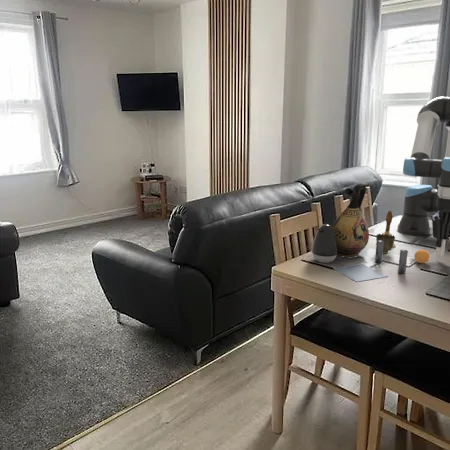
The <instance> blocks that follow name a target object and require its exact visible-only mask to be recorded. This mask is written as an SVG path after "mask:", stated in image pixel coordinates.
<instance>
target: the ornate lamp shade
mask: <svg viewBox="0 0 450 450" xmlns="http://www.w3.org/2000/svg"><path fill="white" fill-rule="evenodd" d="M383 233H384V232H382V233H381V234H380V233H378V234H376V243H377V240H382V241H384V246H383V255H385V256H386V255H388V254H389V252H390V251H391V250H392V249H393V248H392V247H393V244H395V238H396V236H395V235H394V234H392V235H390V236H389V234H385V235H383ZM383 255H382V256H383Z"/></svg>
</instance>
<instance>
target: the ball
mask: <svg viewBox="0 0 450 450" xmlns="http://www.w3.org/2000/svg"><path fill="white" fill-rule="evenodd" d="M414 260H415V261H416V262H417V263H418V264H425V263H426V264H427V262H429V260H430V254H429V252H428V251H427V250H426V249H419V250H416V251H415V252H414Z"/></svg>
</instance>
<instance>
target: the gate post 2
mask: <svg viewBox="0 0 450 450" xmlns="http://www.w3.org/2000/svg"><path fill="white" fill-rule="evenodd" d="M408 253H409V251H408V250H407V249H400V250H399V260H398V266H397V268H398V269H397V274H398V275H400V276H405V274H406V270H407V269H406V268H407V261H408Z"/></svg>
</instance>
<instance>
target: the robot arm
mask: <svg viewBox="0 0 450 450" xmlns="http://www.w3.org/2000/svg"><path fill="white" fill-rule="evenodd" d="M416 123H417V128H416V132H415V137H414V142H413V145H412V150H411V154H410V157H405V159H404V161H403V167H402V173H403V175H404V176H409V177H418V178H420V177H422V178H434V179H439V183H438V184H437V186H436V188H434V187H433V186H432V185H430V184H415V185H410V186H408V187H406V190H405V195H404V203H403V210H402V216H401V218H400V221H399V222H398V224H397V228H396V229H397V232H399V233H401V234H403V235H404V234H405V235H408V236H409V235H410V236H416V235H417V236H418V237H419V235H424V236H429V235H430V234H431V228H432V237H433V238H434V239H436V244H435V247H436V248H435V254H436V255H438V256H441V257H442V256H443V257H444V255H445V250H446V249H445V248H446V245H447V241H449V240H450V96H437V97H435V98H433V99H431V100H429V101H428V102H426V103H425V104H424V105H423V106H422V107H421V108H420V110H419V111H418V114H417V118H416ZM439 124H445V128H446V129H447V130H448V131H447V132H448V133H447V140H446V149H445V156H444V158H442V159H437V158H436V159H434V158H431V156H432V154H431V153H432V150H433V145H434V140H435V133H436V129H437V127H438V125H439ZM430 214H431V215H430ZM433 214H434V215H433ZM429 216H430V219H431V222H432V223H431V225H432V227H430V221H429ZM428 234H429V235H428ZM417 236H416V237H417Z"/></svg>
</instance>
